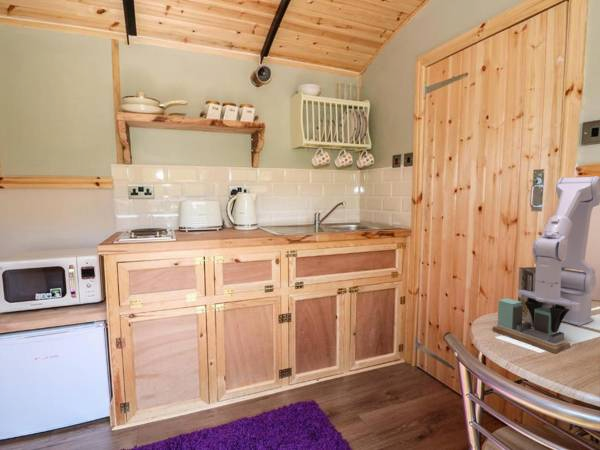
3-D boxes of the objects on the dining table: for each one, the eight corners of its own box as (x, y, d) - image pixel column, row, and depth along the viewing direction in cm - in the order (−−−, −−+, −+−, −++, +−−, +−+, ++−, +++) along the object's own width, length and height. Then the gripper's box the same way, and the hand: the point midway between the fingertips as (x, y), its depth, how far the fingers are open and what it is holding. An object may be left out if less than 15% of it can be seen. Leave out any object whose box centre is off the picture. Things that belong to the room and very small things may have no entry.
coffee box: (554, 327, 99) (557, 273, 98) (530, 326, 100) (533, 273, 99) (538, 316, 108) (540, 266, 107) (516, 315, 109) (518, 266, 108)
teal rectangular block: (541, 330, 97) (542, 306, 97) (557, 335, 94) (558, 310, 93) (532, 333, 95) (533, 309, 95) (548, 338, 92) (549, 313, 91)
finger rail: (507, 326, 101) (508, 296, 100) (569, 347, 86) (571, 313, 86) (492, 330, 97) (493, 300, 97) (555, 353, 83) (556, 318, 82)
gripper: (512, 277, 98) (510, 322, 99) (570, 289, 85) (568, 341, 86) (526, 274, 101) (524, 318, 102) (584, 285, 88) (582, 335, 90)
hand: (545, 328), depth 95 cm, fingers closed on teal rectangular block, 4 cm apart
